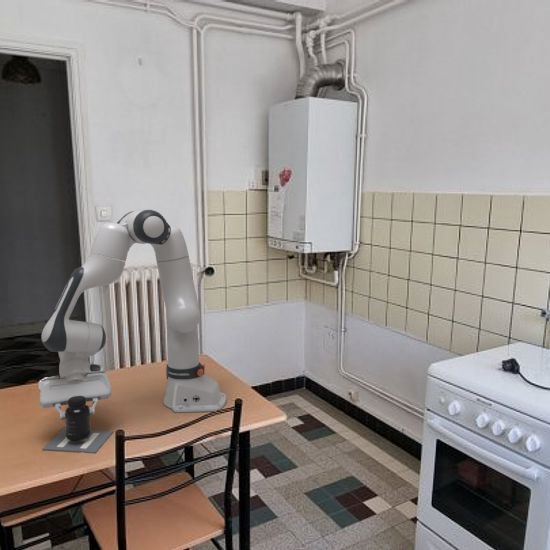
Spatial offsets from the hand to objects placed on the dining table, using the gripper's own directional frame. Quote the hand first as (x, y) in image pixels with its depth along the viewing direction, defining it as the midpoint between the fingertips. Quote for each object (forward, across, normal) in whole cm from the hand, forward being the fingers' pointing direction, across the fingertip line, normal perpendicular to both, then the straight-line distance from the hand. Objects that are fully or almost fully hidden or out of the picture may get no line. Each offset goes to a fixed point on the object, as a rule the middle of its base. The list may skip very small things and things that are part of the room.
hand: (77, 416), depth 140 cm
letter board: (+5, 0, +6) cm, 8 cm away
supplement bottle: (+4, 0, +5) cm, 7 cm away
